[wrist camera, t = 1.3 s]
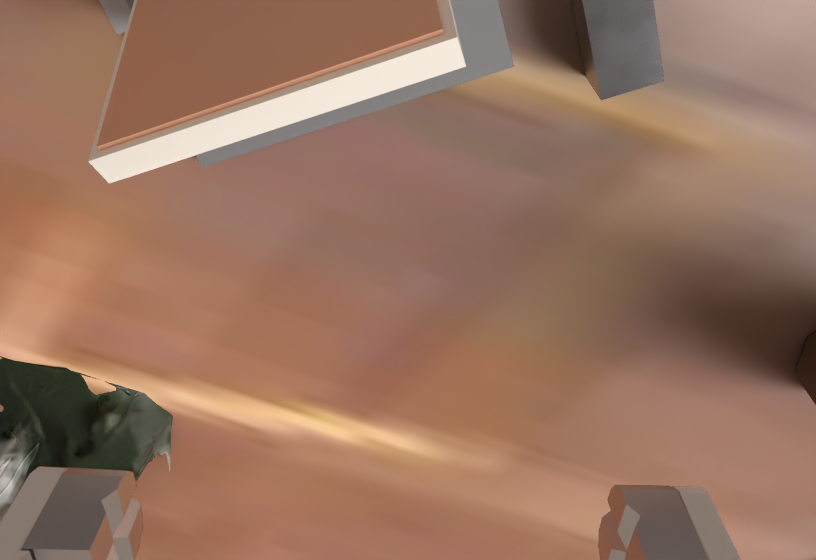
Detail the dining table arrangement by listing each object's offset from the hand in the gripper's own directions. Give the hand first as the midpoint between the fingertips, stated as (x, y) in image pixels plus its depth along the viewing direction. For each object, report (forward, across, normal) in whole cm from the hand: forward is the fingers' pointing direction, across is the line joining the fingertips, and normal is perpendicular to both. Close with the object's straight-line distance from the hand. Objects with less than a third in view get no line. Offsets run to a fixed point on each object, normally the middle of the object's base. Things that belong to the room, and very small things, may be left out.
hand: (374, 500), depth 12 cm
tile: (+22, +5, -3) cm, 22 cm away
